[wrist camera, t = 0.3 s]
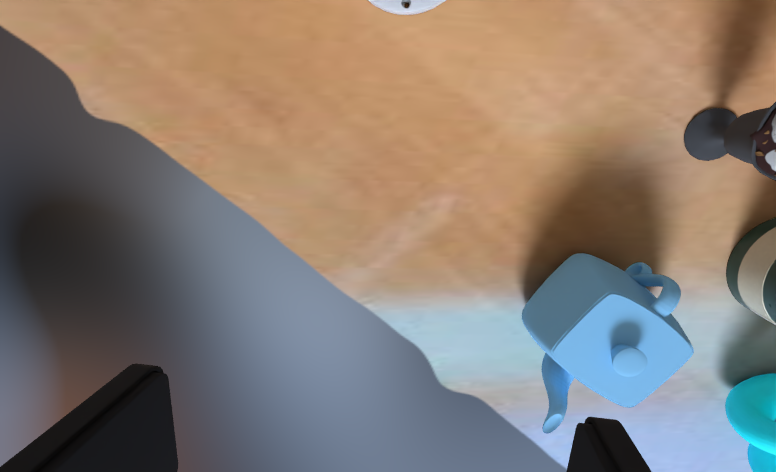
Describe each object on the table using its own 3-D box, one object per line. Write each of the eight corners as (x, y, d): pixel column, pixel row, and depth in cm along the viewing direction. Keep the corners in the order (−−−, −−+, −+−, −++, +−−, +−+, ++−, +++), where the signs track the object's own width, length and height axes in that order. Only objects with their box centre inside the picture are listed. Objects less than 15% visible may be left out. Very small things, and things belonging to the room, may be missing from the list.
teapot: (480, 339, 47) (494, 403, 36) (587, 220, 42) (641, 254, 31) (562, 396, 48) (600, 476, 37) (677, 286, 43) (760, 341, 32)
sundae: (686, 94, 38) (840, 75, 24) (760, 104, 38) (962, 90, 23) (663, 163, 40) (793, 185, 25) (733, 173, 39) (905, 201, 25)
